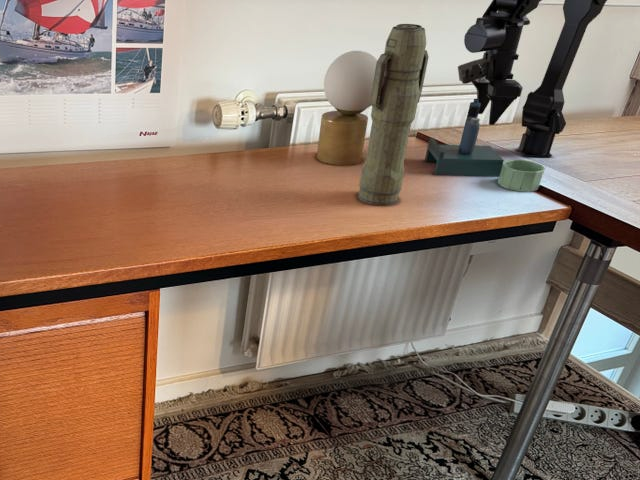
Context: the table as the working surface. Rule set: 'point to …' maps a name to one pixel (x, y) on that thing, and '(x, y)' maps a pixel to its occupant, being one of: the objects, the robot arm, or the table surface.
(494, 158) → the dark green stepped platform
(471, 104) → the vaping device
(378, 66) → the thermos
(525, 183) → the green bowl
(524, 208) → the table surface
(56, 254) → the table surface
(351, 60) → the lamp
